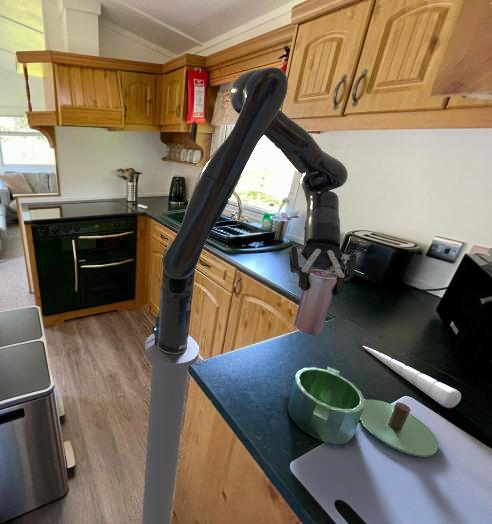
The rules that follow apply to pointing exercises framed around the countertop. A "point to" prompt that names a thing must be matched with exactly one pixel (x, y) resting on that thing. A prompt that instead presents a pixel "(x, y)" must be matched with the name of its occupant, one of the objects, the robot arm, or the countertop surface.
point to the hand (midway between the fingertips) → (320, 291)
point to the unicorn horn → (422, 381)
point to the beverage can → (315, 302)
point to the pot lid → (398, 428)
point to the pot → (325, 405)
